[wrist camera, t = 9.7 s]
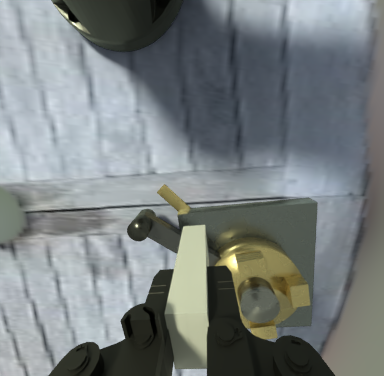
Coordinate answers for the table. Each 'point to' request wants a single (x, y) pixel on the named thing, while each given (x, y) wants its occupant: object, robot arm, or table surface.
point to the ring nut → (243, 273)
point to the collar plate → (260, 232)
